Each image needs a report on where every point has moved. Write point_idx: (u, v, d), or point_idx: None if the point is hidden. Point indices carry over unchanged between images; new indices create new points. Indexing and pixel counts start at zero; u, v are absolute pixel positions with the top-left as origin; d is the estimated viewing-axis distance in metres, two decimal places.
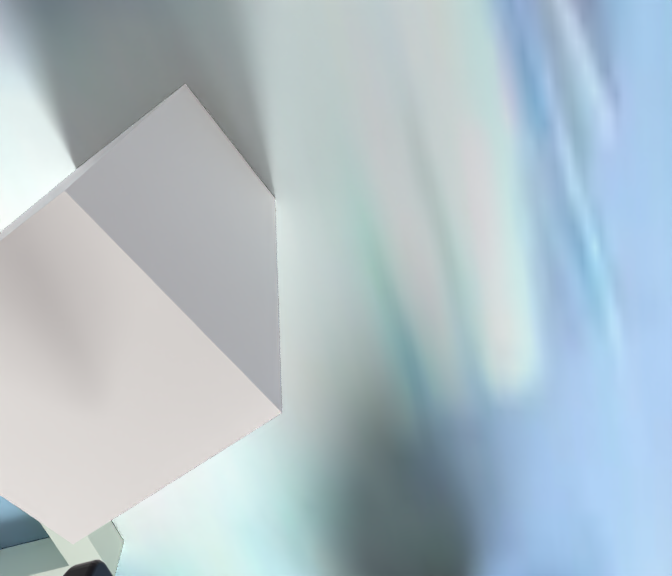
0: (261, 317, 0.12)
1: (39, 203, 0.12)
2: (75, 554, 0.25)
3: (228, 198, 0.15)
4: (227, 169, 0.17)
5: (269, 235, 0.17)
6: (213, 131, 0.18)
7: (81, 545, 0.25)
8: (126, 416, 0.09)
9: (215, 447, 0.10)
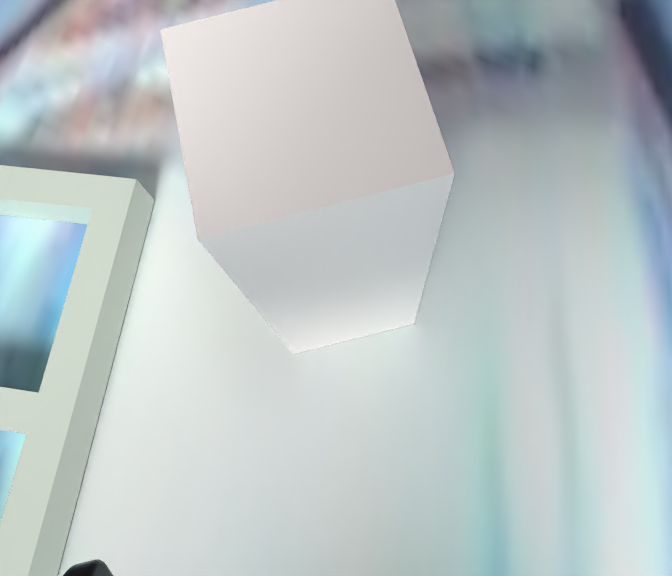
0: None
1: None
2: None
3: None
4: None
5: None
6: None
7: None
8: (327, 128, 0.11)
9: (382, 185, 0.11)
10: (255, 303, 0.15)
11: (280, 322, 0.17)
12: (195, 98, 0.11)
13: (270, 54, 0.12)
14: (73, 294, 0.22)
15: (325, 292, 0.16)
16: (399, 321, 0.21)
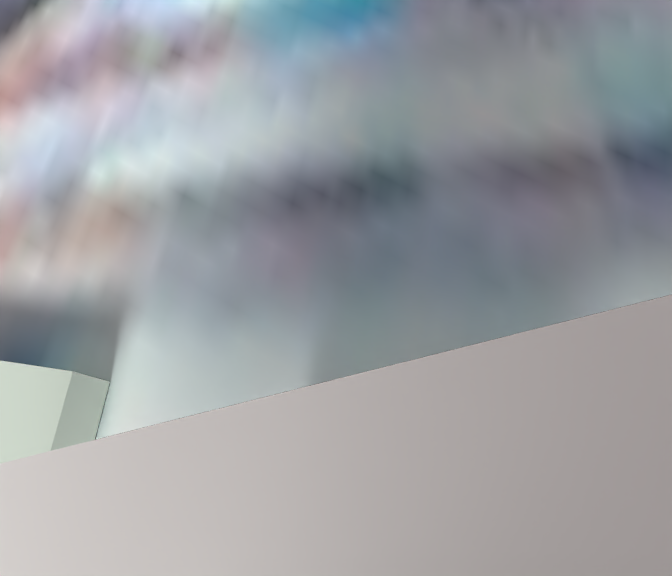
0: None
1: None
2: None
3: None
4: None
5: None
6: None
7: None
8: None
9: None
10: None
11: None
12: None
13: None
14: None
15: None
16: None
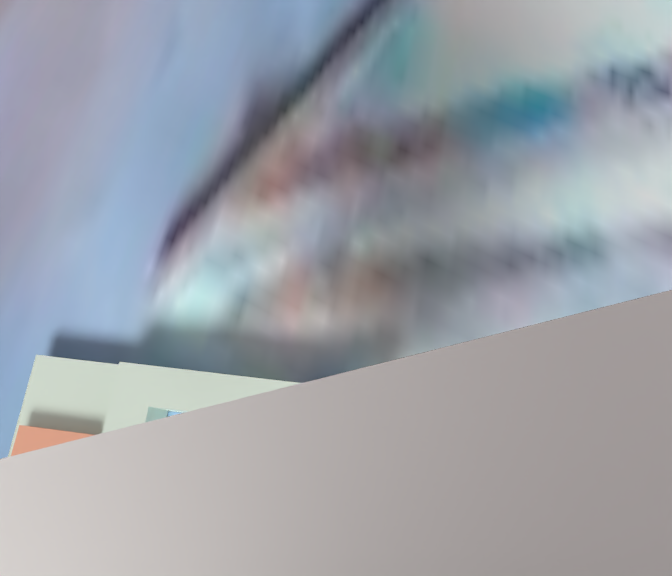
0: None
1: None
2: None
3: None
4: None
5: None
6: None
7: None
8: None
9: None
10: None
11: None
12: None
13: None
14: None
15: None
16: None
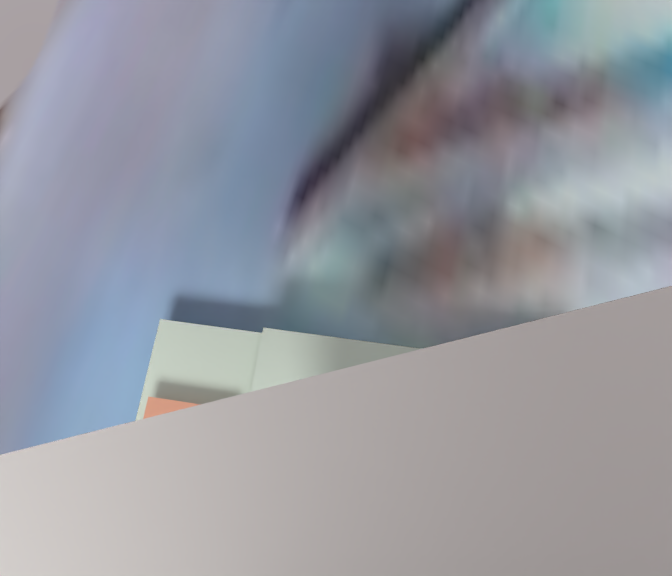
0: None
1: None
2: None
3: None
4: None
5: None
6: None
7: None
8: None
9: None
10: None
11: None
12: None
13: None
14: None
15: None
16: None
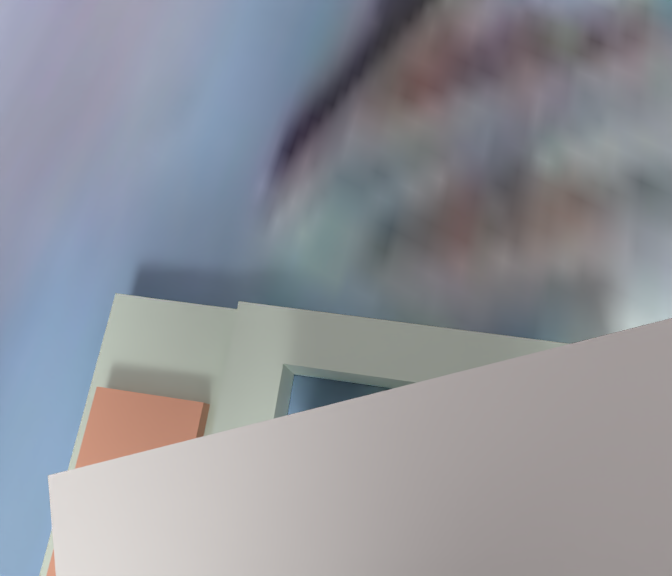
0: None
1: None
2: None
3: None
4: None
5: None
6: None
7: None
8: None
9: None
10: None
11: None
12: None
13: None
14: None
15: None
16: None
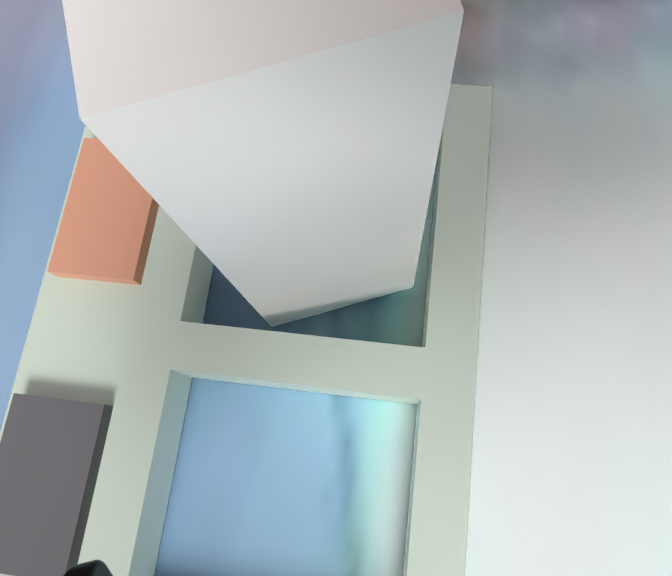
0: None
1: None
2: None
3: None
4: None
5: None
6: None
7: None
8: None
9: (355, 32, 0.07)
10: (203, 247, 0.12)
11: (244, 280, 0.14)
12: None
13: None
14: (443, 227, 0.17)
15: (296, 234, 0.12)
16: (395, 283, 0.18)
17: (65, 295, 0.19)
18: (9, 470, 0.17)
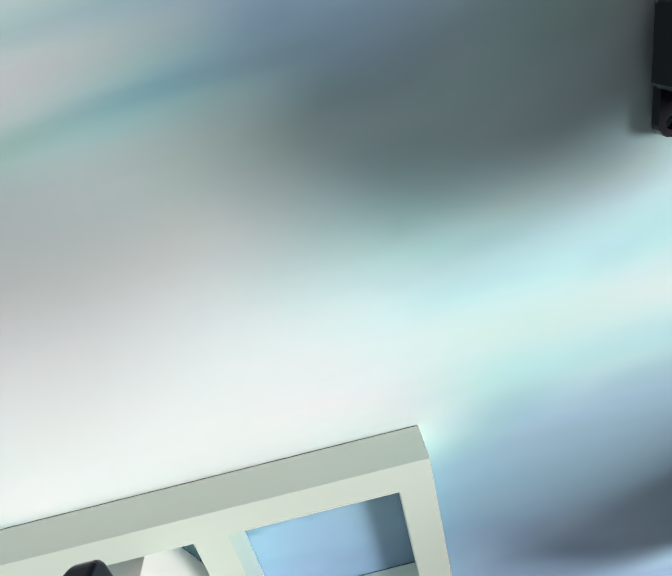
0: None
1: None
2: (384, 486, 0.23)
3: None
4: None
5: None
6: None
7: (371, 481, 0.23)
8: None
9: None
10: None
11: None
12: None
13: None
14: (103, 561, 0.23)
15: None
16: None
17: None
18: None
